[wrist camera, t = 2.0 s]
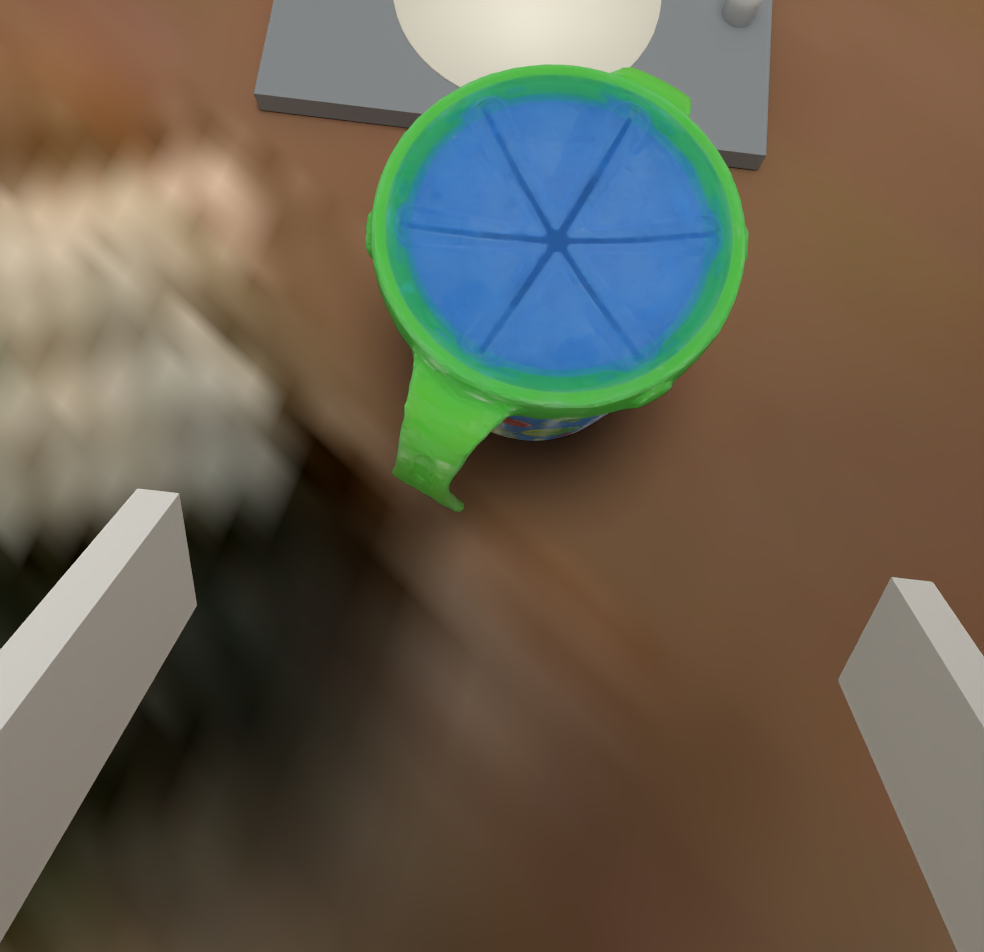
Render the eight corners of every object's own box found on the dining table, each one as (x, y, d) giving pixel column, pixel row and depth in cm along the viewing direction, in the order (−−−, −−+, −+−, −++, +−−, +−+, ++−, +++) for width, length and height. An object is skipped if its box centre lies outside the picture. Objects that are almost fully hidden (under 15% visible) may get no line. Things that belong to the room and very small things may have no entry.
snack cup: (519, 590, 28) (546, 566, 18) (308, 427, 29) (224, 321, 19) (740, 293, 31) (868, 132, 21) (540, 156, 32) (571, -58, 22)
